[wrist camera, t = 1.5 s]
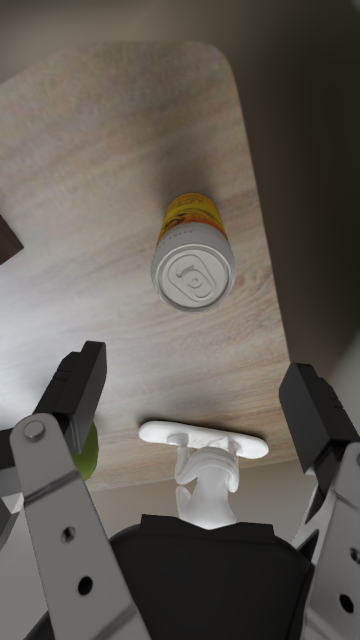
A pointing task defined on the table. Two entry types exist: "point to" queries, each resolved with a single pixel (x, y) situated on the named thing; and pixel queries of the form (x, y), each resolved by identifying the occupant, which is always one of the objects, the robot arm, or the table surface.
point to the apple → (88, 454)
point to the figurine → (205, 468)
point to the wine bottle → (9, 515)
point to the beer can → (193, 256)
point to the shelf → (8, 242)
